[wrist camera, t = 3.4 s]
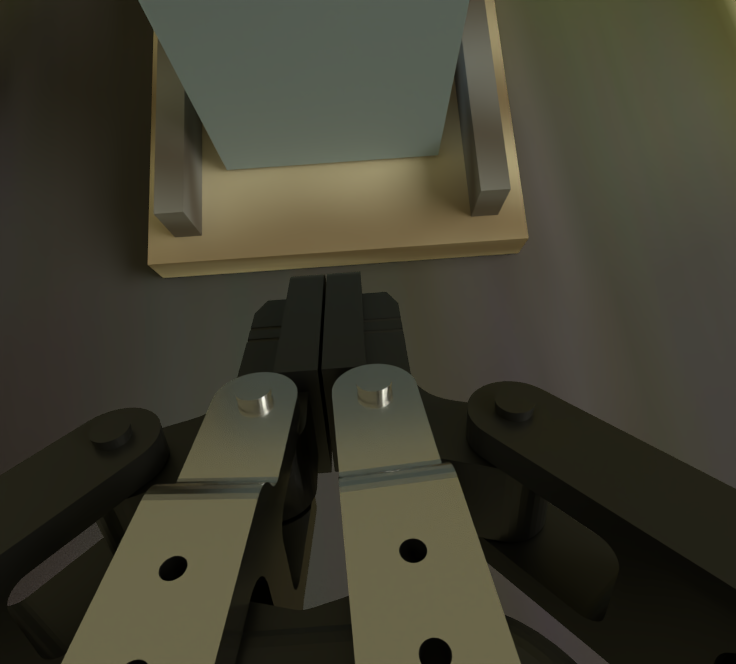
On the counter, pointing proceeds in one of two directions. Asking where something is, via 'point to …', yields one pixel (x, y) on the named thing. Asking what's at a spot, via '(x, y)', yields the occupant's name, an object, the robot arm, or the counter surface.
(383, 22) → the grey rectangular block
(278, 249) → the beige wooden tray
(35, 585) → the counter surface
